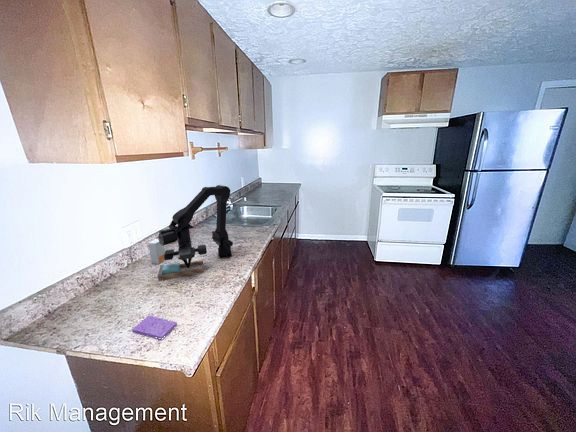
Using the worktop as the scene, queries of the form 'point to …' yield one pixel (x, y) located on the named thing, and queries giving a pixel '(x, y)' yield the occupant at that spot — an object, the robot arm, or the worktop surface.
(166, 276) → the guide channel
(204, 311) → the worktop surface
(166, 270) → the block
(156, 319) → the sponges
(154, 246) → the skincare box
